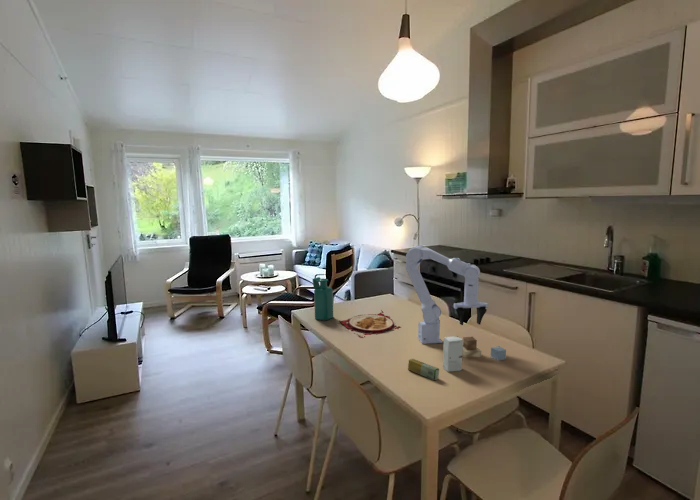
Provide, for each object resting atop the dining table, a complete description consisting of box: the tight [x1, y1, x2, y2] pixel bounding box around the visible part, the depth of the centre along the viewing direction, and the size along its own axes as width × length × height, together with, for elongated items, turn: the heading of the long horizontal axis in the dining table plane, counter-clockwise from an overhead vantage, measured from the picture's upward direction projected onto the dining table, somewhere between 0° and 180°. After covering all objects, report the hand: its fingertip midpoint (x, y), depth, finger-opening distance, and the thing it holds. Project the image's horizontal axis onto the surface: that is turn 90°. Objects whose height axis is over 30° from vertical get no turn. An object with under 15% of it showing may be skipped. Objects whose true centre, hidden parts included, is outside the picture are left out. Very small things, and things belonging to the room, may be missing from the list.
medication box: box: [407, 358, 440, 382], centre depth 133 cm, size 12×3×4 cm, turn 45°
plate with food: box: [338, 309, 402, 338], centre depth 185 cm, size 25×26×4 cm
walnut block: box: [462, 336, 478, 350], centre depth 149 cm, size 4×4×4 cm
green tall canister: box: [312, 276, 334, 322], centre depth 196 cm, size 10×8×22 cm
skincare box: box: [442, 335, 463, 373], centre depth 136 cm, size 6×4×12 cm
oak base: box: [462, 347, 482, 359], centre depth 150 cm, size 7×7×3 cm
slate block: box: [490, 345, 507, 362], centre depth 146 cm, size 4×4×4 cm
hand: (470, 324), depth 156 cm, fingers open, 7 cm apart
